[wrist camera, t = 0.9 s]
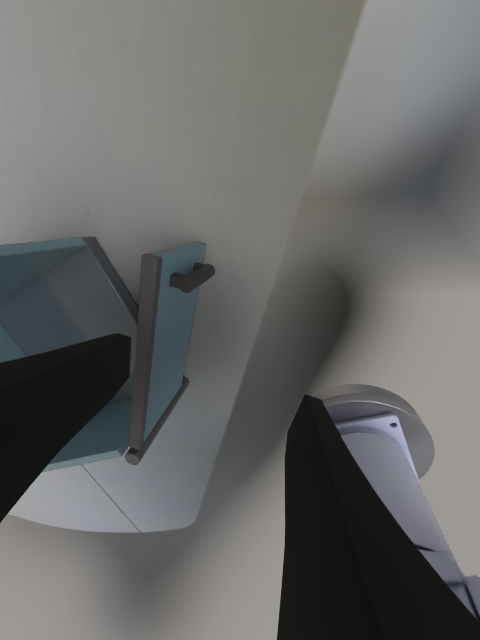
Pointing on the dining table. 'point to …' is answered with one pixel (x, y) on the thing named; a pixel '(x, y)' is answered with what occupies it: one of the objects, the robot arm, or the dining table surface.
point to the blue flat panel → (164, 331)
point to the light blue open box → (72, 330)
